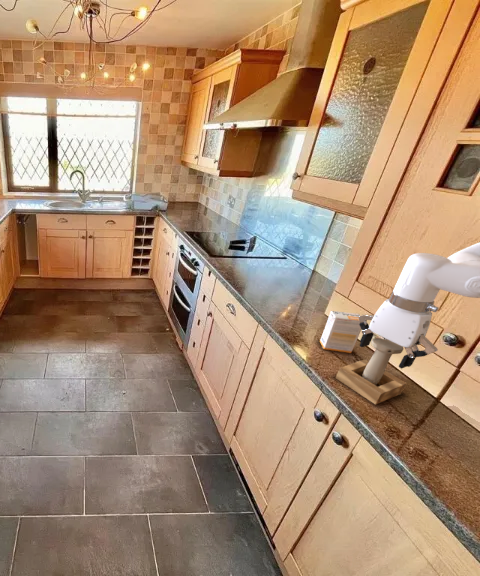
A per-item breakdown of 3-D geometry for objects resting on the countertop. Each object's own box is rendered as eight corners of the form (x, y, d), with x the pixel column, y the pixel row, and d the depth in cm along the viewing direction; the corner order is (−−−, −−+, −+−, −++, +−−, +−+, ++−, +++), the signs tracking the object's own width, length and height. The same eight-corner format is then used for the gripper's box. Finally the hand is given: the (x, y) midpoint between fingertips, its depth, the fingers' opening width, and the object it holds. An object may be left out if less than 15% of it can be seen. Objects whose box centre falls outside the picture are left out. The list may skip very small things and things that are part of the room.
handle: (383, 394, 87) (406, 352, 80) (355, 387, 90) (375, 346, 83) (378, 383, 91) (399, 342, 84) (351, 377, 94) (370, 336, 87)
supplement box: (345, 345, 107) (359, 313, 101) (351, 353, 103) (366, 321, 97) (318, 341, 110) (330, 309, 104) (323, 349, 106) (335, 317, 100)
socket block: (359, 369, 97) (364, 359, 95) (401, 393, 87) (407, 383, 85) (335, 378, 93) (339, 367, 91) (375, 404, 84) (381, 393, 82)
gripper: (464, 315, 71) (430, 372, 79) (380, 285, 86) (358, 335, 94) (445, 322, 69) (411, 379, 77) (362, 290, 84) (341, 341, 91)
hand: (382, 355), depth 85 cm, fingers open, 9 cm apart
